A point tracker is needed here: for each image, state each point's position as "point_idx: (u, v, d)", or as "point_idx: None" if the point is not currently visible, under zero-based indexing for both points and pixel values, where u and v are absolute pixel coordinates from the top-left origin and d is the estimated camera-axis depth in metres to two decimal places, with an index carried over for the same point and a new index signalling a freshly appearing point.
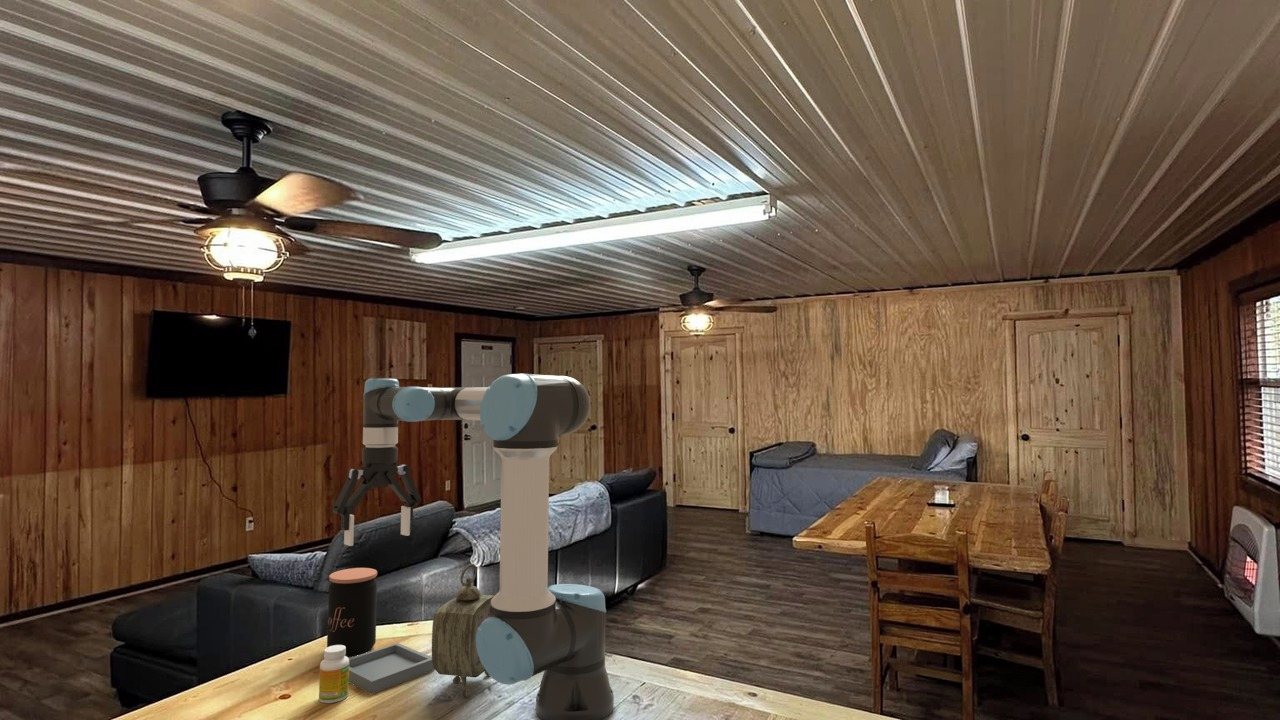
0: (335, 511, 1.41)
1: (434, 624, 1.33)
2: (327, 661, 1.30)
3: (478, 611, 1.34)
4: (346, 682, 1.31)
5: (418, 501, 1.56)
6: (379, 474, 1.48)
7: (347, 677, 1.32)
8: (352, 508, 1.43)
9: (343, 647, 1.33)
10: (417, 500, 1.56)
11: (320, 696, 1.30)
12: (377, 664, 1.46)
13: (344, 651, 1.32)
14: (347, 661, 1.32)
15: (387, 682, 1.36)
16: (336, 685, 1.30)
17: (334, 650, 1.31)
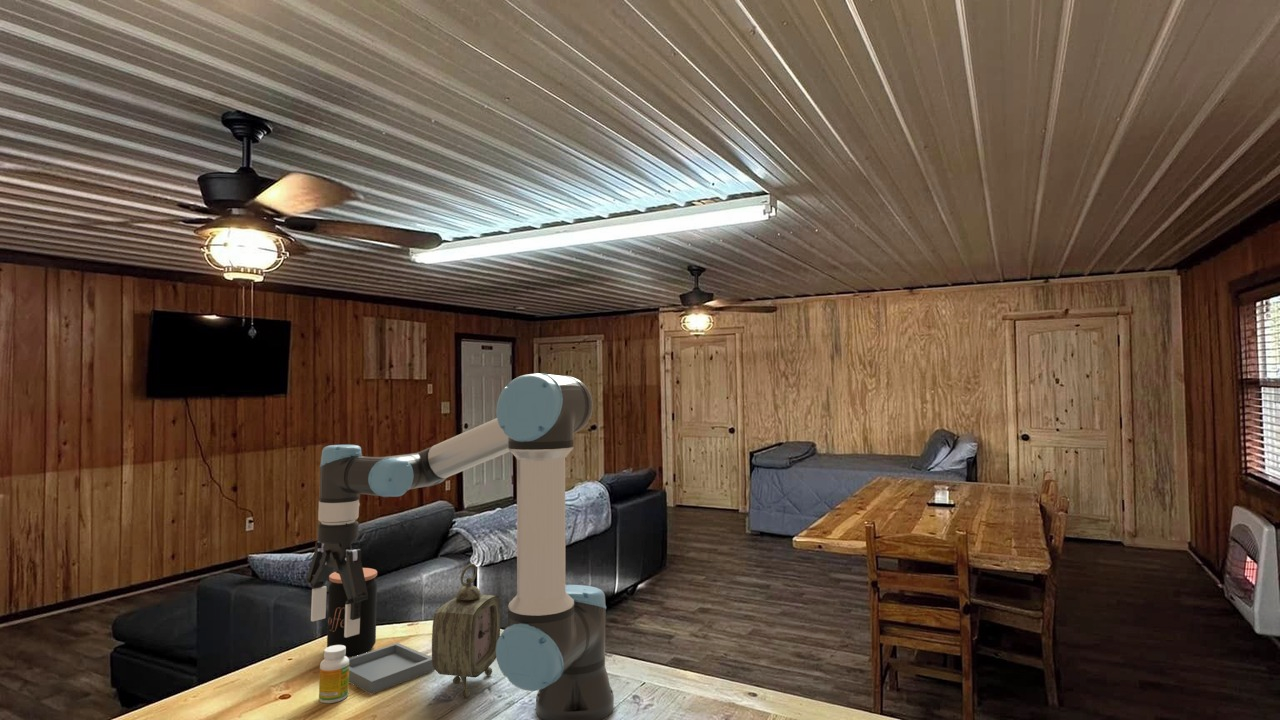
0: None
1: (434, 624, 1.33)
2: (327, 661, 1.30)
3: (478, 611, 1.34)
4: (346, 682, 1.31)
5: (354, 600, 1.26)
6: (325, 553, 1.32)
7: (347, 677, 1.32)
8: (314, 581, 1.36)
9: (343, 647, 1.33)
10: (353, 598, 1.26)
11: (320, 696, 1.30)
12: (377, 664, 1.46)
13: (344, 651, 1.32)
14: (347, 661, 1.32)
15: (387, 682, 1.36)
16: (336, 685, 1.30)
17: (334, 650, 1.31)
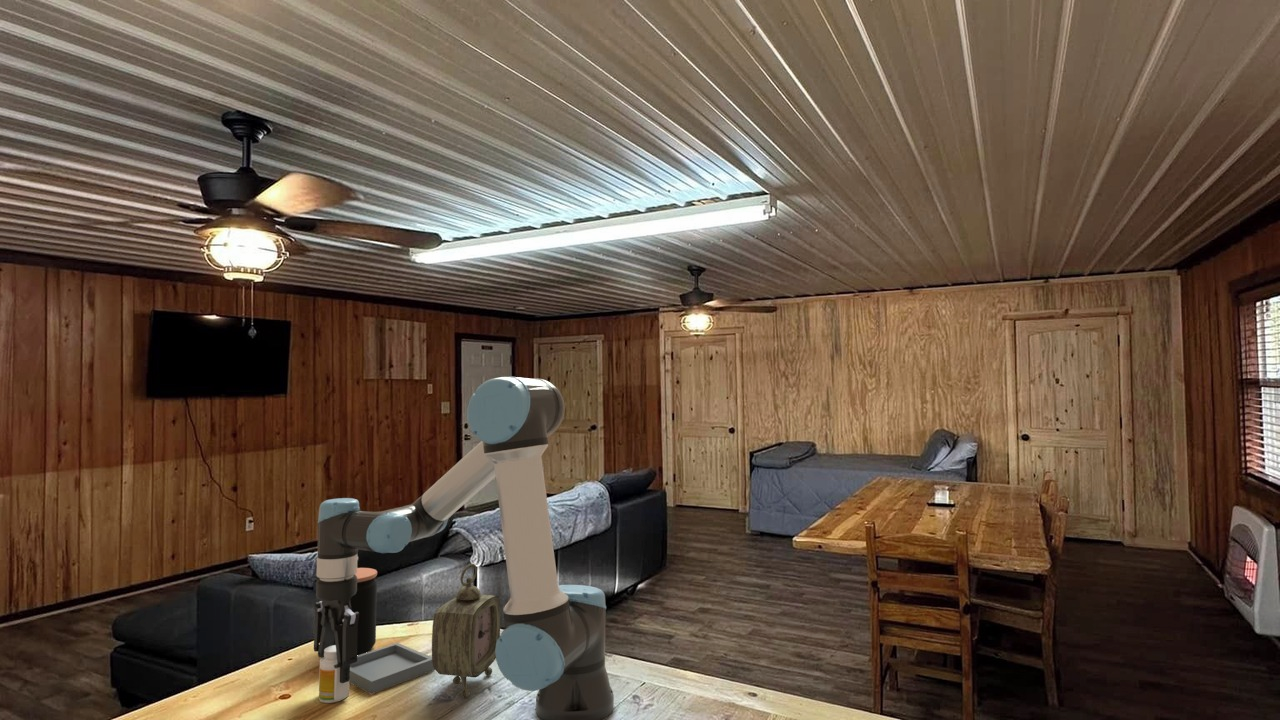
0: None
1: (434, 624, 1.33)
2: (327, 660, 1.30)
3: (478, 611, 1.34)
4: None
5: (343, 663, 1.28)
6: (323, 608, 1.32)
7: None
8: (320, 648, 1.33)
9: None
10: (343, 661, 1.28)
11: (320, 696, 1.30)
12: (377, 664, 1.46)
13: None
14: None
15: (387, 682, 1.36)
16: None
17: (334, 650, 1.31)
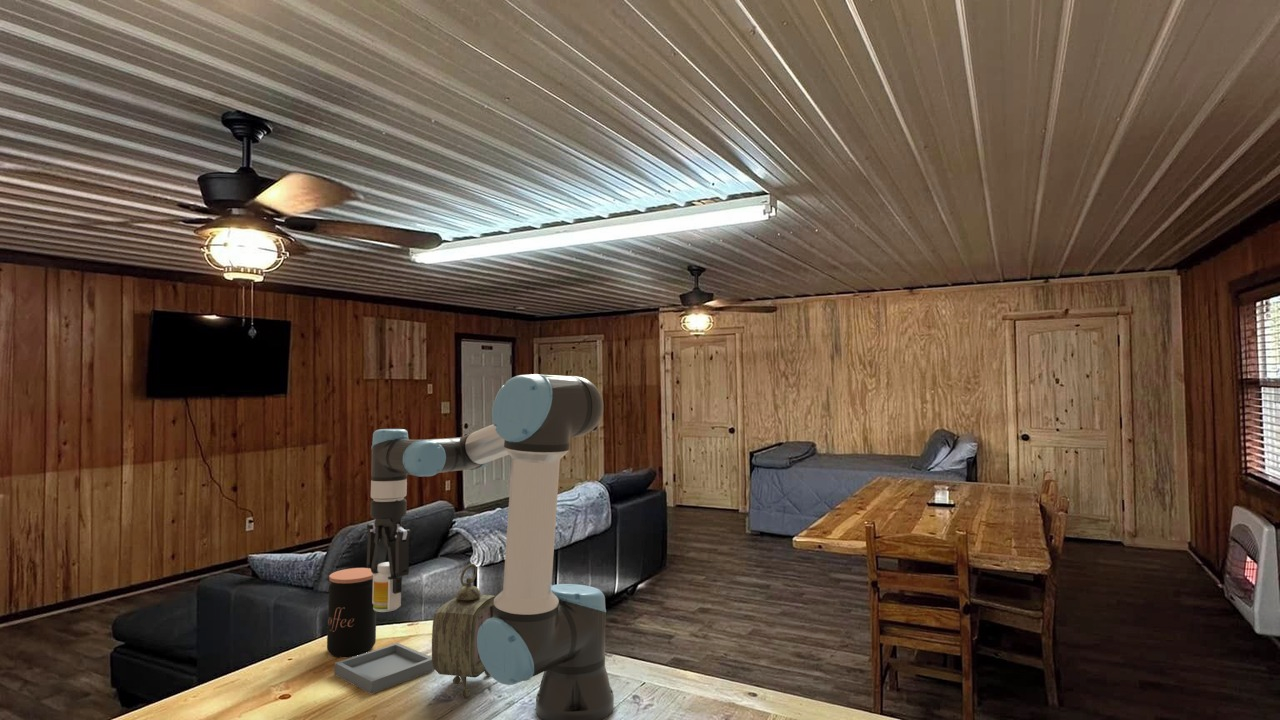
0: None
1: (434, 624, 1.33)
2: (381, 574, 1.43)
3: (478, 611, 1.34)
4: None
5: (396, 575, 1.41)
6: (377, 527, 1.45)
7: None
8: (373, 565, 1.46)
9: None
10: (396, 573, 1.41)
11: (374, 606, 1.42)
12: (377, 664, 1.46)
13: None
14: None
15: (387, 682, 1.36)
16: None
17: (387, 565, 1.44)
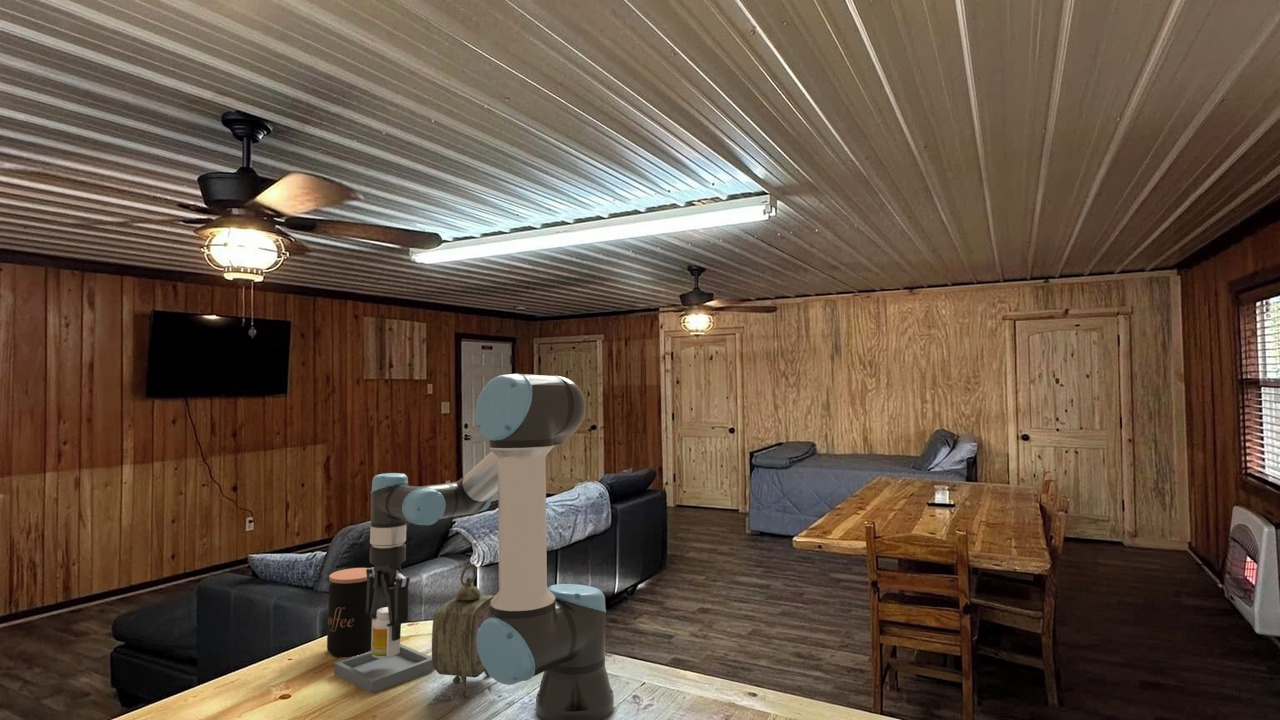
0: None
1: (434, 624, 1.33)
2: (380, 620, 1.43)
3: (478, 611, 1.34)
4: None
5: (395, 622, 1.40)
6: (376, 573, 1.44)
7: None
8: (372, 610, 1.46)
9: None
10: (395, 620, 1.40)
11: (373, 652, 1.42)
12: (377, 664, 1.46)
13: None
14: None
15: (387, 682, 1.36)
16: None
17: (386, 611, 1.43)
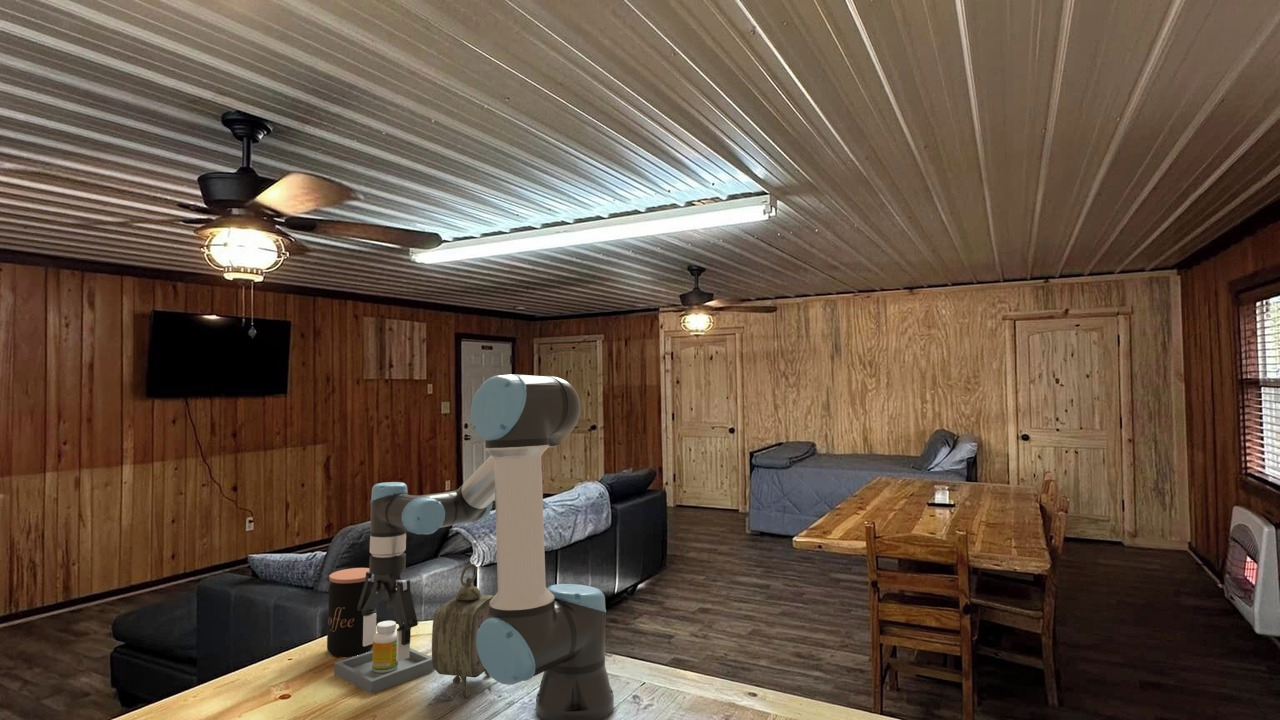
0: None
1: (434, 624, 1.33)
2: (380, 634, 1.43)
3: (478, 611, 1.34)
4: None
5: (405, 627, 1.38)
6: (376, 583, 1.44)
7: None
8: (365, 609, 1.48)
9: (394, 622, 1.45)
10: (404, 625, 1.38)
11: (373, 667, 1.42)
12: None
13: (395, 626, 1.44)
14: None
15: (387, 682, 1.36)
16: (388, 657, 1.42)
17: (386, 625, 1.43)
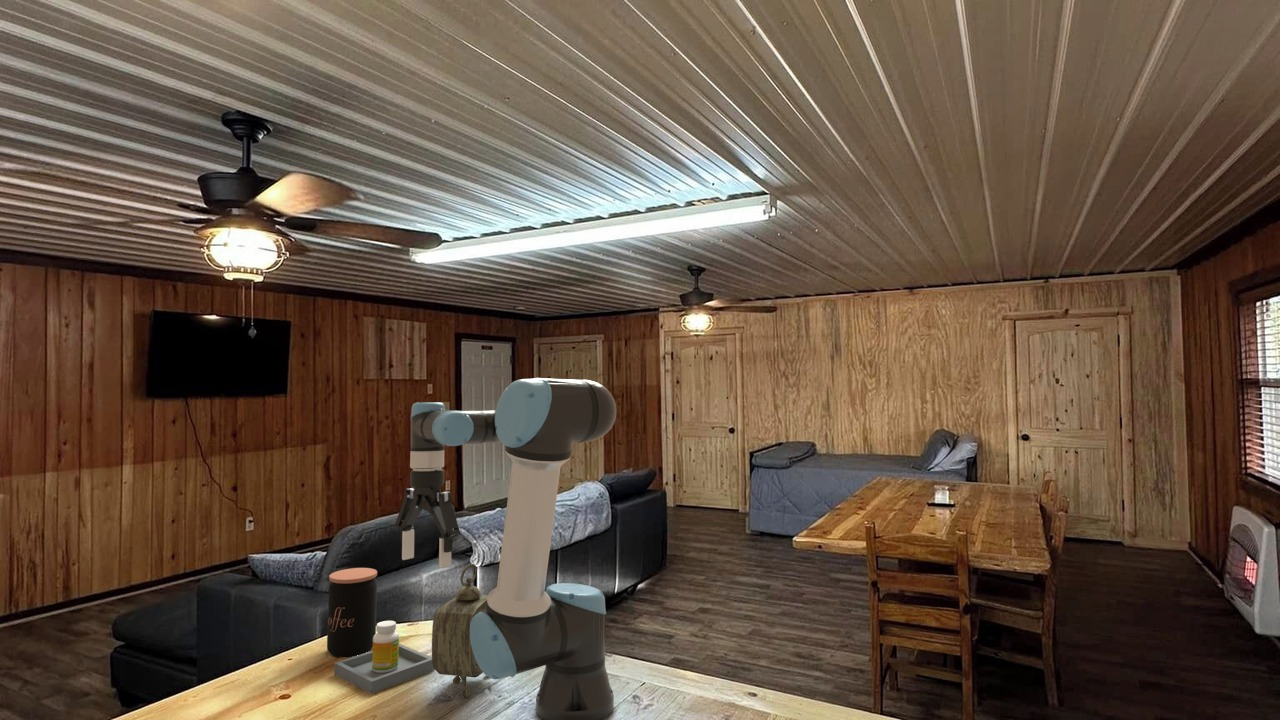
0: None
1: (434, 624, 1.33)
2: (380, 634, 1.43)
3: (478, 611, 1.34)
4: (396, 654, 1.44)
5: (448, 534, 1.44)
6: (416, 497, 1.50)
7: (397, 650, 1.44)
8: (404, 524, 1.53)
9: (393, 622, 1.45)
10: (448, 532, 1.44)
11: (373, 667, 1.42)
12: None
13: (395, 626, 1.44)
14: (397, 635, 1.44)
15: (387, 682, 1.36)
16: (388, 656, 1.42)
17: (386, 625, 1.43)
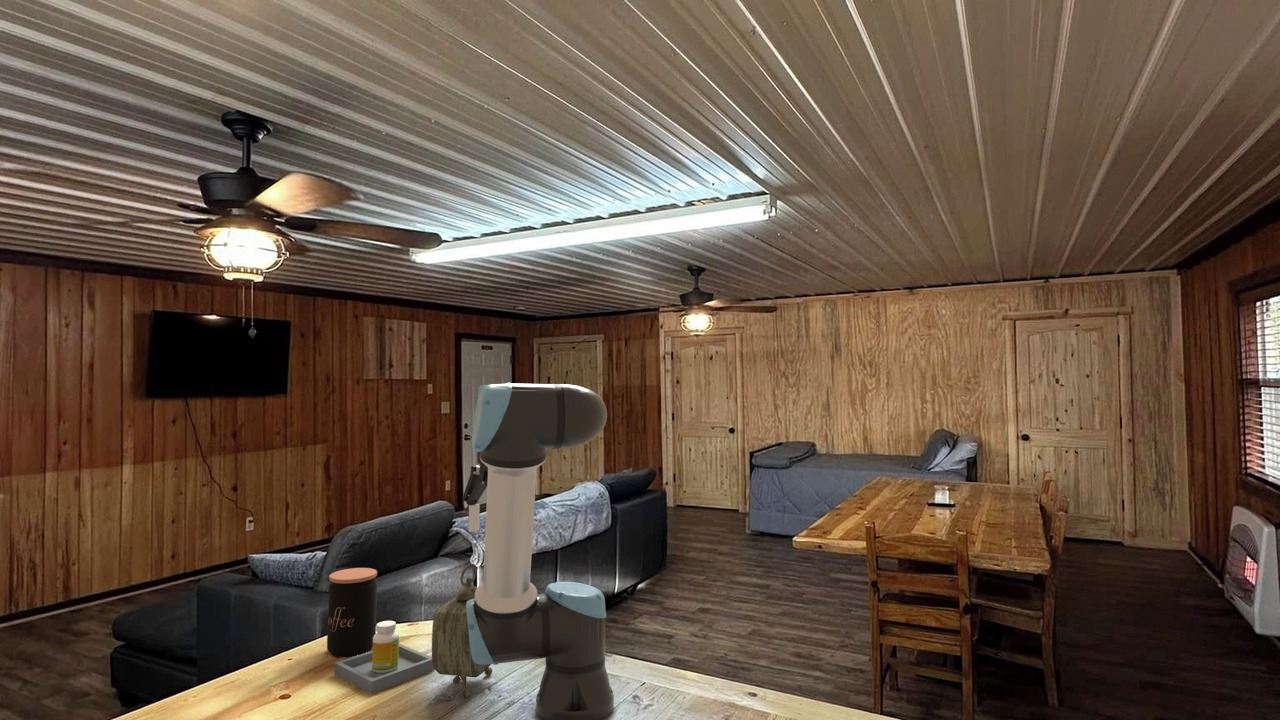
0: None
1: (434, 624, 1.33)
2: (380, 634, 1.43)
3: None
4: (396, 654, 1.43)
5: None
6: (483, 473, 1.60)
7: (397, 650, 1.44)
8: (470, 499, 1.64)
9: (393, 622, 1.45)
10: None
11: (373, 667, 1.42)
12: None
13: (394, 626, 1.44)
14: (397, 635, 1.44)
15: (387, 682, 1.36)
16: (388, 657, 1.42)
17: (386, 625, 1.43)
